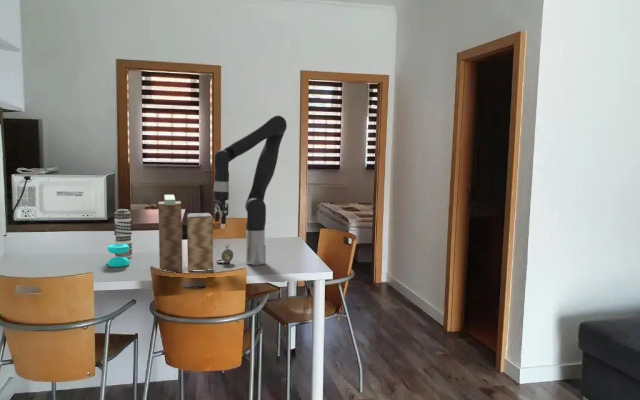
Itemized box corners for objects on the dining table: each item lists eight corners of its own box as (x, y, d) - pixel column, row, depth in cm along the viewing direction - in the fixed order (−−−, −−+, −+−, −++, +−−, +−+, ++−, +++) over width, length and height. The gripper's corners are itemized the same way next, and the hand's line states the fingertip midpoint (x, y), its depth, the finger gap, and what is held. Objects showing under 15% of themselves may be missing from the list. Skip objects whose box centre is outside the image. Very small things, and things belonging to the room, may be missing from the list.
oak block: (210, 264, 247) (210, 212, 244) (213, 270, 235) (212, 216, 233) (187, 266, 243) (187, 213, 241) (189, 272, 232) (188, 216, 229)
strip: (173, 199, 247) (173, 194, 246) (175, 204, 224) (175, 199, 224) (164, 199, 245) (164, 194, 245) (164, 205, 223) (164, 199, 222)
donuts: (106, 244, 244) (127, 242, 249) (106, 264, 245) (128, 262, 250) (108, 248, 235) (130, 246, 240) (109, 268, 236) (131, 266, 241)
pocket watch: (219, 261, 255) (219, 241, 254) (235, 261, 254) (235, 242, 253) (213, 264, 247) (213, 244, 246) (229, 265, 246) (229, 245, 245)
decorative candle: (137, 255, 264) (135, 209, 262) (123, 259, 256) (122, 211, 254) (124, 254, 268) (123, 208, 266) (110, 257, 260) (109, 210, 257)
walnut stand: (181, 266, 242) (180, 201, 239) (182, 271, 233) (181, 203, 230) (159, 267, 239) (158, 201, 236) (159, 272, 230) (158, 203, 227)
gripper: (234, 191, 244) (232, 224, 245) (223, 189, 256) (221, 220, 257) (219, 191, 240) (218, 224, 241) (209, 189, 252) (207, 221, 253)
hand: (220, 222), depth 249 cm, fingers open, 8 cm apart
